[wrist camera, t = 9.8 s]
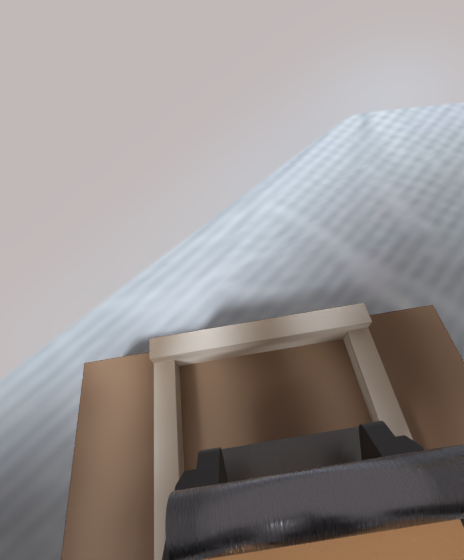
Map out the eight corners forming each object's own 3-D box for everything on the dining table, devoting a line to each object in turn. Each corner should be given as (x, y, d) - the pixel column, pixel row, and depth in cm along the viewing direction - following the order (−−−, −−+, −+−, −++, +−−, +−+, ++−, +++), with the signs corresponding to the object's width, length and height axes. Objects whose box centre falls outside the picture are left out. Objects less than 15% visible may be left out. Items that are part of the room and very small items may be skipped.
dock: (69, 821, 13) (-31, 993, 8) (105, 376, 22) (67, 352, 18) (617, 740, 12) (794, 875, 8) (414, 324, 22) (448, 288, 18)
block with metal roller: (230, 626, 11) (111, 1043, 3) (214, 452, 14) (132, 416, 6) (406, 600, 11) (800, 955, 3) (353, 429, 14) (468, 359, 6)
